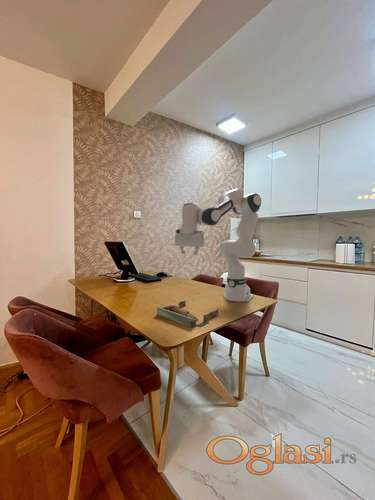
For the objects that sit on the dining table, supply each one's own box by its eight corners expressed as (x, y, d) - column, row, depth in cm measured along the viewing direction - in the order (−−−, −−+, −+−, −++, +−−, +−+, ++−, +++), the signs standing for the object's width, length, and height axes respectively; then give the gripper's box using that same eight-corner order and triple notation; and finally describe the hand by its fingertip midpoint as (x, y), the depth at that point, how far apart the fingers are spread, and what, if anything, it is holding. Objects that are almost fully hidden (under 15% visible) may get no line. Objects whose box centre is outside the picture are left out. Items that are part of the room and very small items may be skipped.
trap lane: (184, 305, 133) (184, 298, 133) (218, 314, 118) (218, 307, 118) (156, 315, 117) (156, 307, 116) (192, 327, 101) (192, 319, 101)
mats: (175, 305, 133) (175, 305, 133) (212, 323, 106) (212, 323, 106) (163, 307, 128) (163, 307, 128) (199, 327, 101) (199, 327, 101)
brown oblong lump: (200, 320, 110) (195, 310, 108) (190, 329, 107) (184, 319, 105) (181, 309, 125) (176, 300, 123) (172, 318, 122) (166, 309, 120)
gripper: (207, 230, 125) (206, 255, 126) (180, 230, 138) (180, 252, 139) (200, 230, 120) (200, 255, 121) (173, 230, 133) (173, 253, 134)
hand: (189, 254), depth 130 cm, fingers open, 8 cm apart
